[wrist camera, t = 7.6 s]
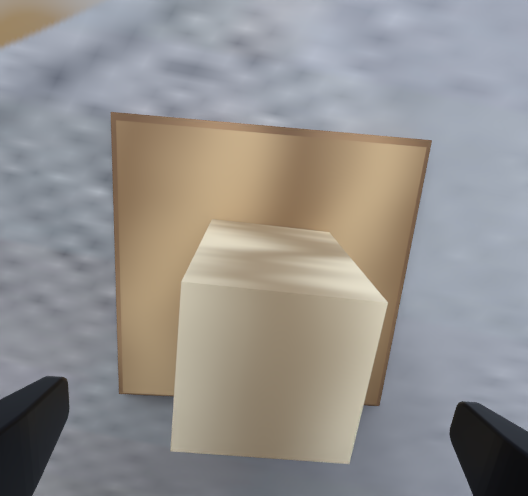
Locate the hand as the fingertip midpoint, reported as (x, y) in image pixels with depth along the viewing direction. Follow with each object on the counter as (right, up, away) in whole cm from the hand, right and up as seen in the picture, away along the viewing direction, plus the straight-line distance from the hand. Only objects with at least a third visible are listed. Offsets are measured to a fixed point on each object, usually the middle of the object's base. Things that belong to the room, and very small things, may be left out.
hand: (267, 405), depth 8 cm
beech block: (0, +2, +8) cm, 8 cm away
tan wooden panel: (0, +3, +10) cm, 10 cm away
